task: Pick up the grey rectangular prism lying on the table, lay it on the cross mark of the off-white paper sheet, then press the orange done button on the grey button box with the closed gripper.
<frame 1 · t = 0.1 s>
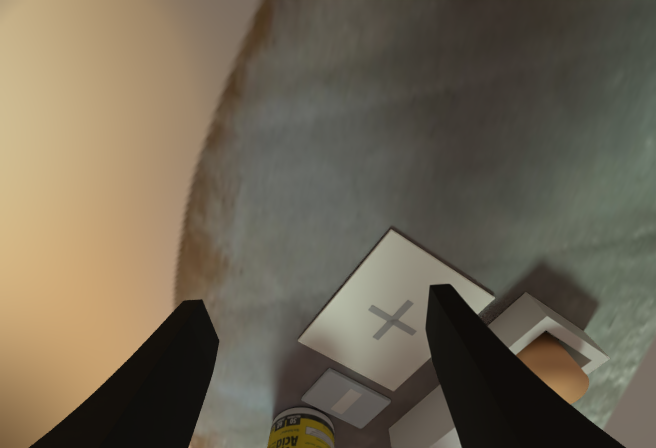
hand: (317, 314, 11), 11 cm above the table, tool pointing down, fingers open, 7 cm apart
grey rectangular prism: (439, 407, 28), on the table
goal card: (345, 398, 27), on the table
supplement bottle: (302, 424, 29), on the table
paper sheet: (392, 318, 24), on the table
done button: (544, 368, 22), point 3 cm above the table, slide at 0.0 cm
button box: (523, 339, 25), on the table
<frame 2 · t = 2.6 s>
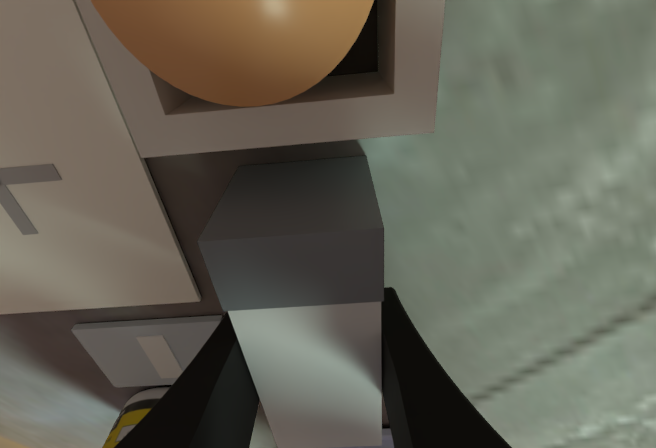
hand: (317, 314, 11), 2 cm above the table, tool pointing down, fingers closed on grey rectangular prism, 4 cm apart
grey rectangular prism: (318, 279, 12), on the table, touching gripper
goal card: (165, 351, 14), on the table
supplement bottle: (182, 408, 17), on the table
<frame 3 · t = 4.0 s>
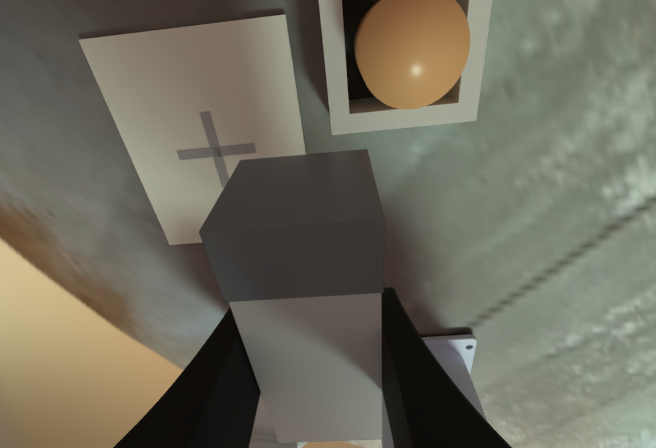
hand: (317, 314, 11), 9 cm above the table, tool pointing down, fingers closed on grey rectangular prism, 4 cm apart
grey rectangular prism: (319, 274, 12), point 7 cm above the table, touching gripper
supplement bottle: (283, 322, 25), on the table
paper sheet: (217, 150, 17), on the table
done button: (405, 48, 12), point 3 cm above the table, slide at 0.0 cm
button box: (393, 42, 15), on the table
when the fingers open (3 cm above the table, at t = 5.8 s): grey rectangular prism stays where it is, resting on paper sheet.
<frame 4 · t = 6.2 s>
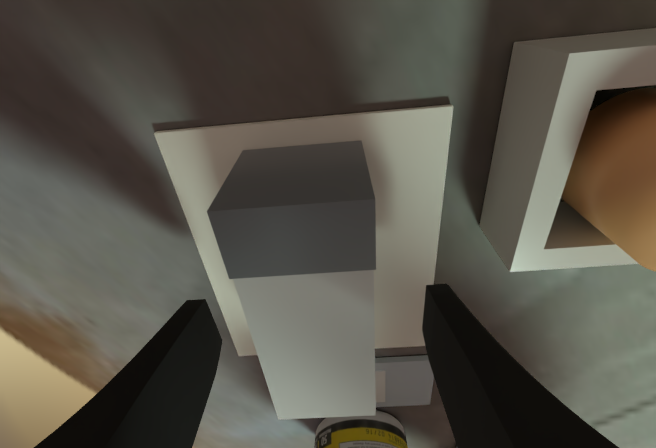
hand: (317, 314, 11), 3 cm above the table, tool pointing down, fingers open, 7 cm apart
grey rectangular prism: (317, 260, 13), resting on paper sheet
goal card: (373, 381, 18), on the table
supplement bottle: (358, 425, 21), on the table
paper sheet: (319, 258, 13), on the table
button box: (591, 140, 11), on the table
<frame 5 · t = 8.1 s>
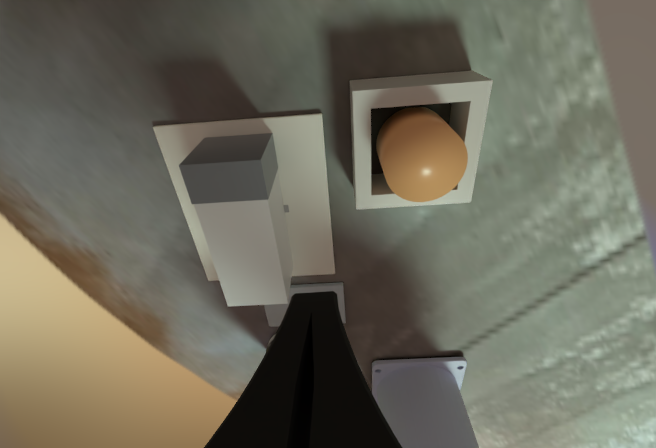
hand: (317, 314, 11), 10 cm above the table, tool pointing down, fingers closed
grey rectangular prism: (254, 209, 21), resting on paper sheet
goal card: (304, 303, 25), on the table
paper sheet: (256, 208, 21), on the table
done button: (418, 153, 16), point 3 cm above the table, slide at 0.0 cm
button box: (406, 135, 18), on the table
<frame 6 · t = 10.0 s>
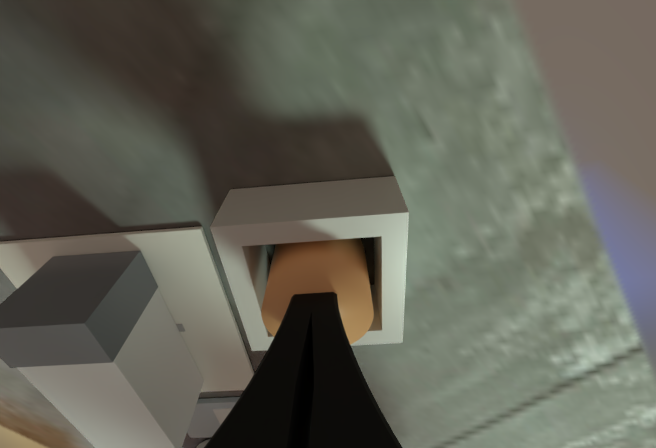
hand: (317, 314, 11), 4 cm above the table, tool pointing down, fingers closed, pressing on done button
grey rectangular prism: (140, 328, 16), resting on paper sheet
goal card: (229, 415, 21), on the table
paper sheet: (145, 326, 16), on the table
done button: (318, 283, 12), point 2 cm above the table, slide at 0.6 cm, touching gripper
button box: (320, 248, 14), on the table
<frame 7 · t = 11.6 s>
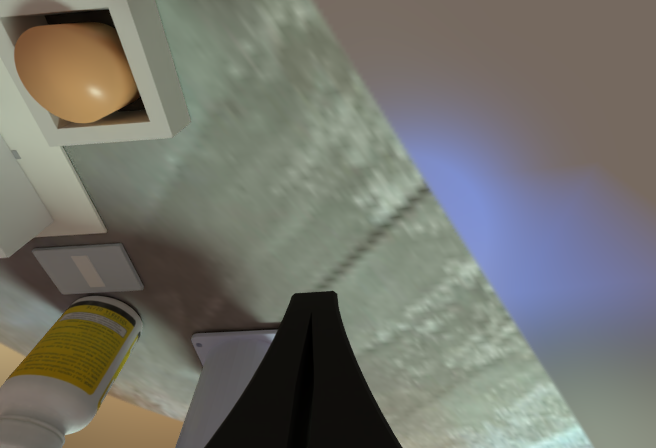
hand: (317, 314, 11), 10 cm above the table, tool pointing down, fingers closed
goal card: (91, 268, 23), on the table
supplement bottle: (110, 315, 26), on the table
done button: (87, 71, 15), point 2 cm above the table, slide at 0.7 cm
button box: (112, 64, 16), on the table
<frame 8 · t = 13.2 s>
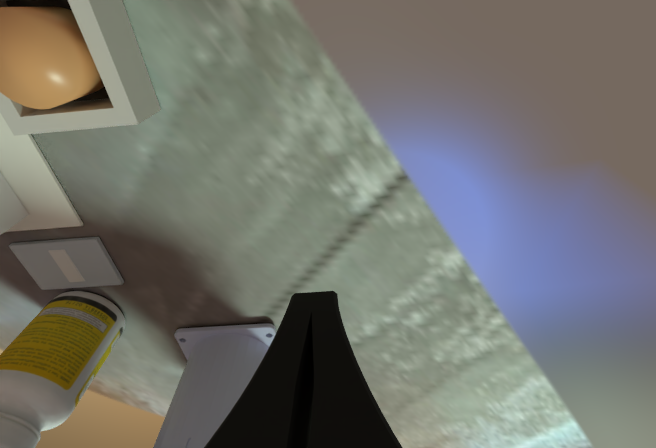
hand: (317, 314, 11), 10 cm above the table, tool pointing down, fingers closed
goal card: (70, 263, 23), on the table
supplement bottle: (92, 311, 26), on the table
done button: (47, 56, 14), point 2 cm above the table, slide at 0.7 cm
button box: (77, 51, 16), on the table
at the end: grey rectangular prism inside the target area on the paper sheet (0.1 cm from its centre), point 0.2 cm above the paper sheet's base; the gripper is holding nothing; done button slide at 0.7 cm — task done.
